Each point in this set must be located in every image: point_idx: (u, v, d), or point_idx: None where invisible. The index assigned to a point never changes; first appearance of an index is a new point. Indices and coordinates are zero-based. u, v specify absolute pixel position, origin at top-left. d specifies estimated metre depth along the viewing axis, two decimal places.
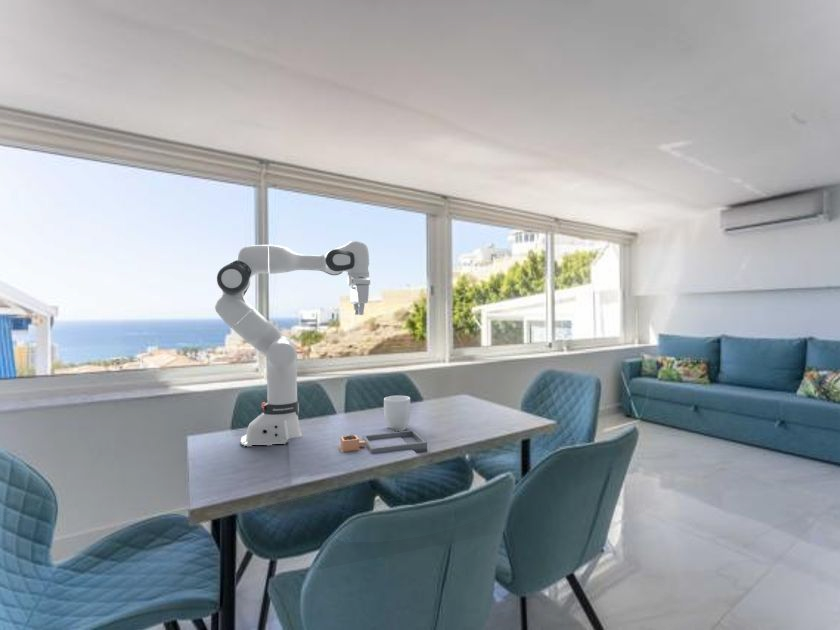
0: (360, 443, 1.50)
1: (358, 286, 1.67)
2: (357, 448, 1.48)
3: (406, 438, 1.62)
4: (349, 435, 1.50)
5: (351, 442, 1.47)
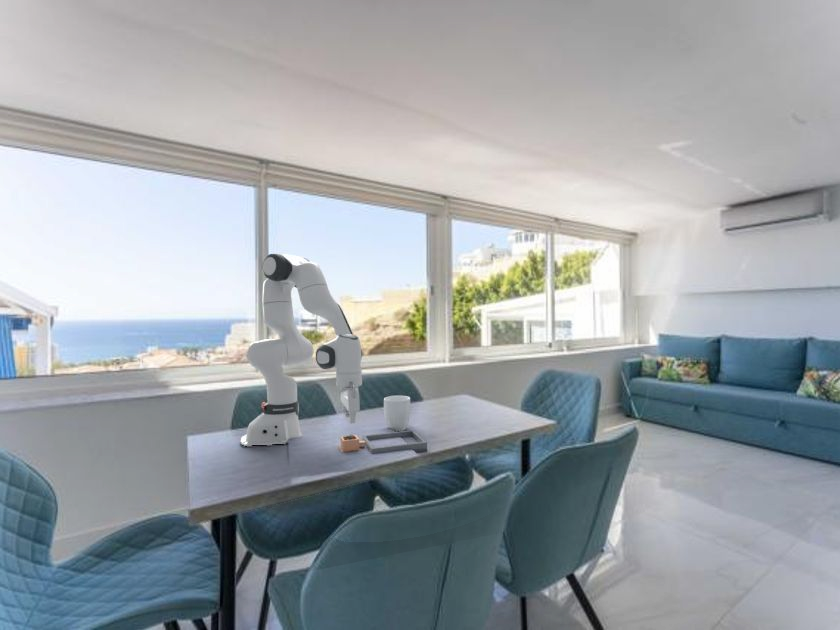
0: (360, 443, 1.50)
1: None
2: (357, 448, 1.48)
3: (406, 438, 1.62)
4: (349, 435, 1.50)
5: (351, 442, 1.47)
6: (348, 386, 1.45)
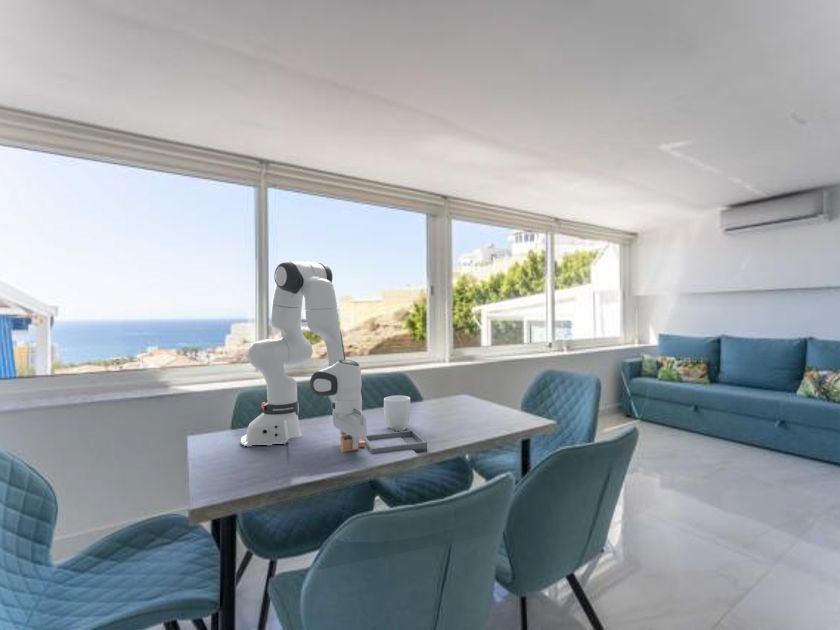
0: (360, 443, 1.50)
1: None
2: (357, 448, 1.48)
3: (406, 438, 1.62)
4: (349, 435, 1.50)
5: (351, 442, 1.47)
6: (352, 413, 1.45)
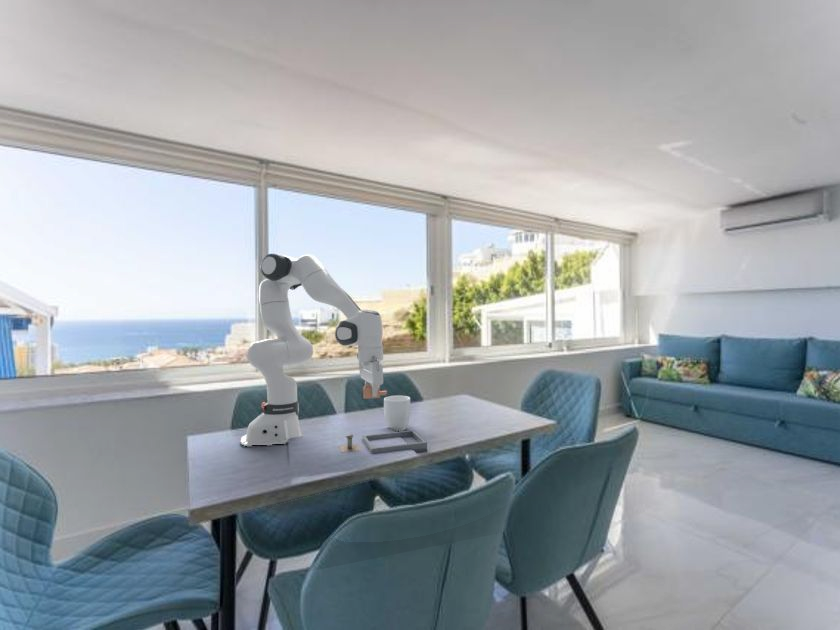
0: (381, 392, 1.51)
1: None
2: (377, 396, 1.49)
3: (406, 438, 1.62)
4: (349, 435, 1.50)
5: (371, 390, 1.49)
6: (371, 360, 1.47)
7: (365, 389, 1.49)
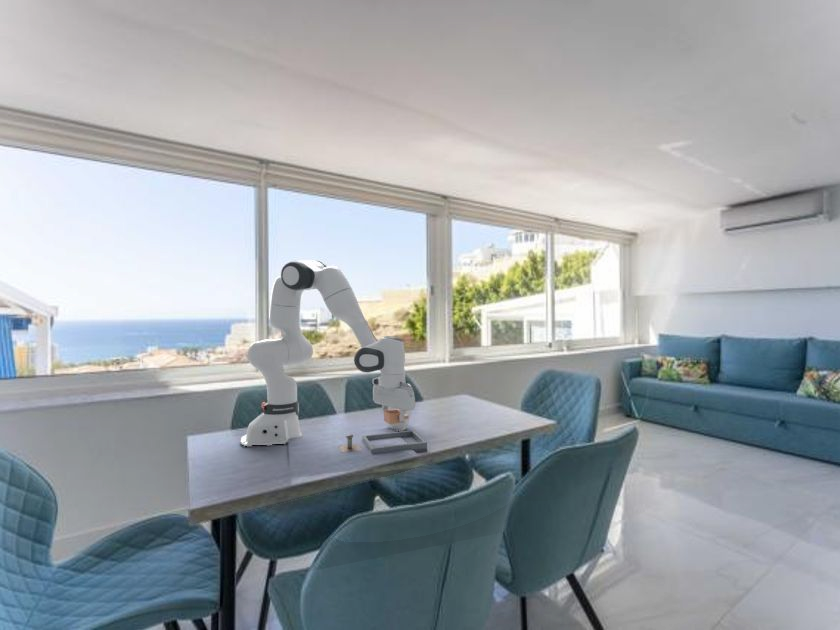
0: (404, 416, 1.55)
1: None
2: (402, 421, 1.53)
3: (406, 438, 1.62)
4: (349, 435, 1.50)
5: (397, 415, 1.52)
6: (398, 386, 1.50)
7: (391, 415, 1.51)
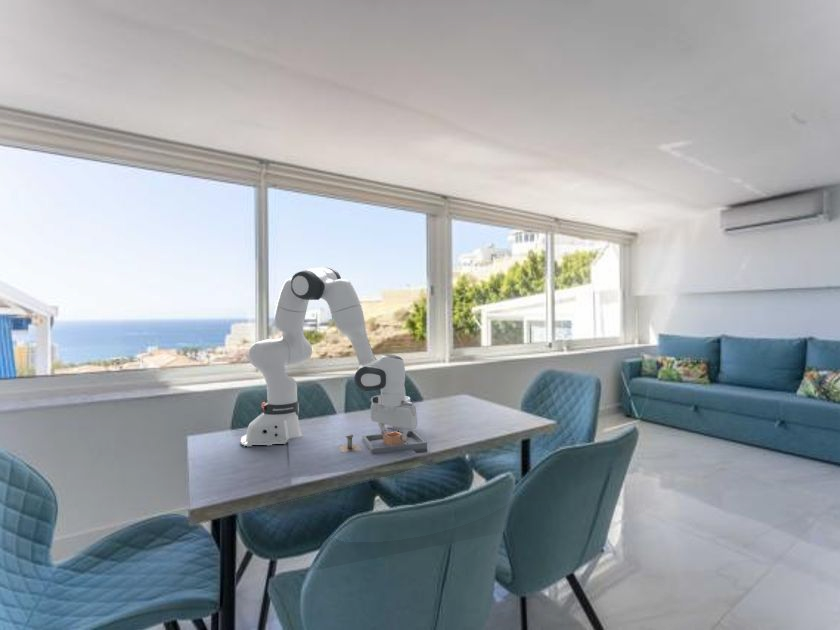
0: None
1: None
2: (403, 443, 1.54)
3: None
4: (349, 435, 1.50)
5: (398, 438, 1.53)
6: (400, 405, 1.51)
7: (393, 438, 1.51)
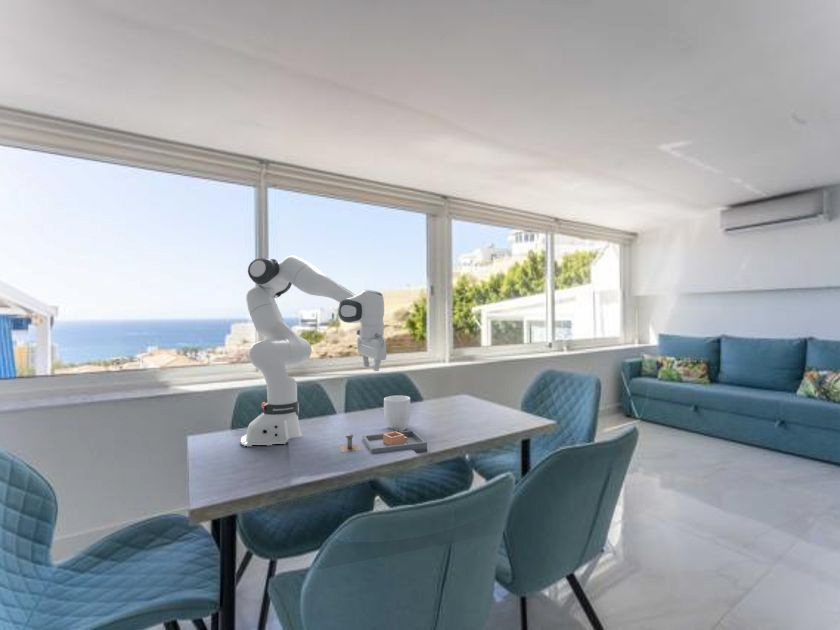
0: None
1: None
2: (403, 443, 1.54)
3: None
4: (349, 435, 1.50)
5: (398, 438, 1.53)
6: (374, 337, 1.59)
7: (393, 438, 1.51)
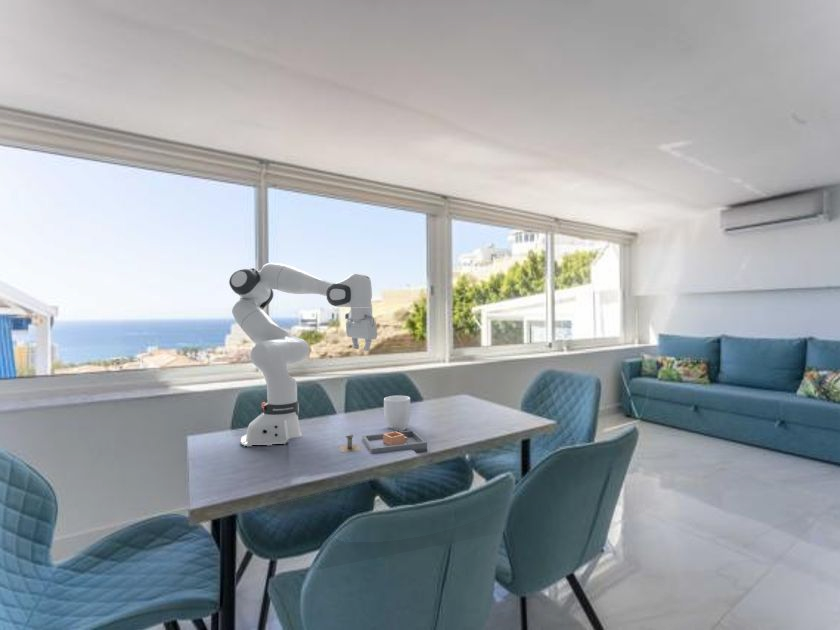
0: None
1: None
2: (403, 443, 1.54)
3: None
4: (349, 435, 1.50)
5: (398, 438, 1.53)
6: (363, 318, 1.64)
7: (393, 438, 1.51)
